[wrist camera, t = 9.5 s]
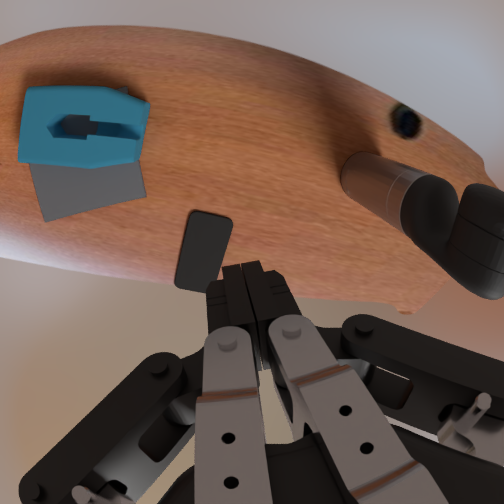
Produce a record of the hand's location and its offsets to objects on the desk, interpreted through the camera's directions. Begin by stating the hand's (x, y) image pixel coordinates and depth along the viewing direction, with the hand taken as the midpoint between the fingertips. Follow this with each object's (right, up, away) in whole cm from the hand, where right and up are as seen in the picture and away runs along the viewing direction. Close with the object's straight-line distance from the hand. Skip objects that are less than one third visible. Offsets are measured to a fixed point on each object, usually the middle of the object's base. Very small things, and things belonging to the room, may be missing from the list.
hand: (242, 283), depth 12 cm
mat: (-27, +16, +26) cm, 41 cm away
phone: (-8, +1, +38) cm, 39 cm away
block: (-15, +18, +24) cm, 33 cm away
